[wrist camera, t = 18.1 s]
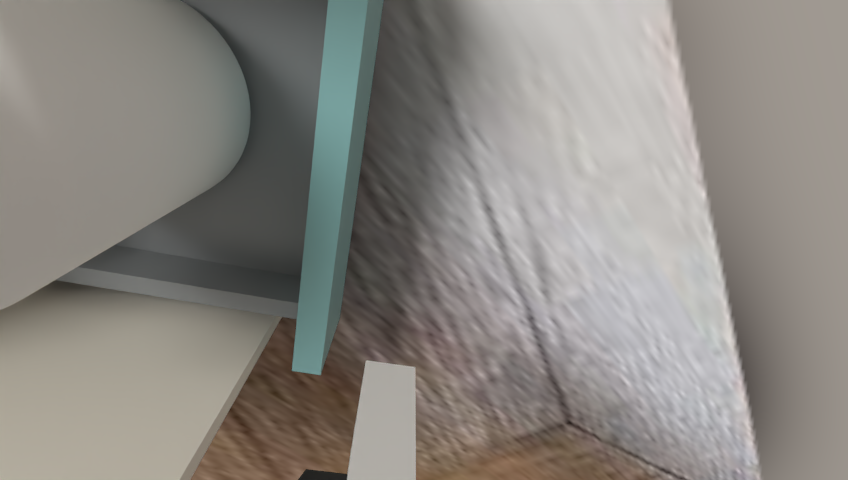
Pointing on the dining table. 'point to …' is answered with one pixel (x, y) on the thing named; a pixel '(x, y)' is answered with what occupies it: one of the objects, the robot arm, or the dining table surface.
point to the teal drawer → (271, 177)
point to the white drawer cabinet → (118, 382)
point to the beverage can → (106, 126)
